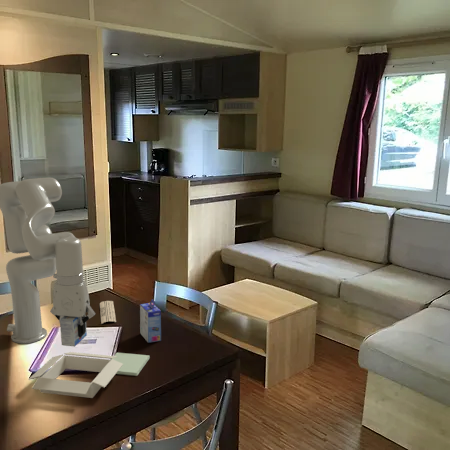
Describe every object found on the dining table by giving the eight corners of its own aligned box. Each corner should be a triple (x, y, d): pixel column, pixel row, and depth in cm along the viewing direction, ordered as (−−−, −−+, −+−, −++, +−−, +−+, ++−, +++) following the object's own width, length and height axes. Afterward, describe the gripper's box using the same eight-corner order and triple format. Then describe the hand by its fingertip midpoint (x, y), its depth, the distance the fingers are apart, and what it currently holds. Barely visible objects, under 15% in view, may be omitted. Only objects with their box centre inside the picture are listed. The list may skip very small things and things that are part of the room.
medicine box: (74, 347, 143) (72, 320, 141) (61, 345, 144) (59, 319, 142) (87, 335, 151) (85, 310, 149) (74, 334, 152) (72, 309, 150)
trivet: (102, 372, 156) (102, 369, 156) (117, 355, 167) (116, 352, 167) (137, 375, 154) (137, 372, 154) (149, 358, 165) (149, 355, 165)
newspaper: (116, 324, 195) (116, 320, 194) (98, 326, 193) (98, 322, 192) (113, 303, 217) (113, 300, 216) (97, 305, 215) (97, 301, 215)
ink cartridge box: (162, 340, 178) (161, 304, 175) (148, 343, 176) (146, 307, 173) (153, 330, 187) (152, 296, 184) (140, 333, 185) (138, 298, 182)
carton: (20, 398, 141) (19, 382, 140) (60, 361, 163) (59, 347, 162) (99, 407, 137) (98, 390, 136) (128, 367, 159) (128, 353, 158)
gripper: (37, 280, 141) (42, 337, 145) (90, 284, 138) (94, 342, 142) (51, 272, 148) (55, 327, 152) (102, 276, 145) (104, 331, 149)
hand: (74, 334), depth 147 cm, fingers closed on medicine box, 4 cm apart
